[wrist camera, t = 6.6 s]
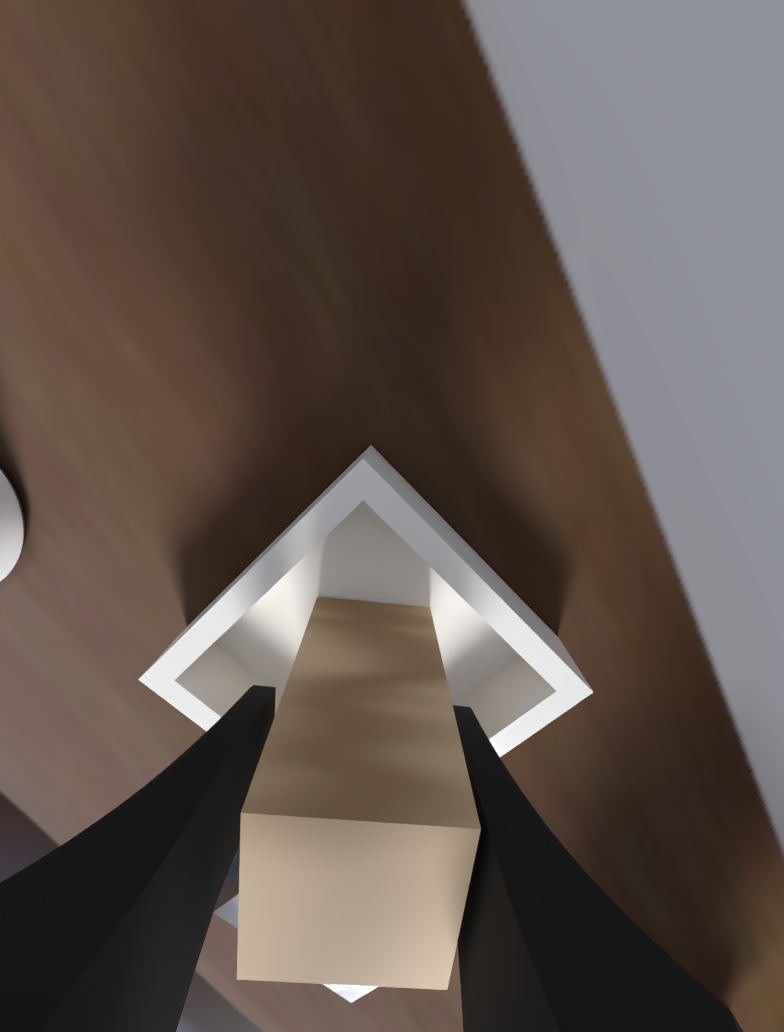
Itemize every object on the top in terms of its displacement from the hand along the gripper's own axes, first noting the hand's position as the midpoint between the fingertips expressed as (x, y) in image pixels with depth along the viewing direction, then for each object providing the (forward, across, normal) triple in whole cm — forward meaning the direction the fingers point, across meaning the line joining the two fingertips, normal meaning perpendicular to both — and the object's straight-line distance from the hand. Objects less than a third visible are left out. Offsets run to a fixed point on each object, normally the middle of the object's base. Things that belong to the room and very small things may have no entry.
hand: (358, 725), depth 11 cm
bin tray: (+5, 0, 0) cm, 5 cm away
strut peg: (+4, 0, 0) cm, 4 cm away
